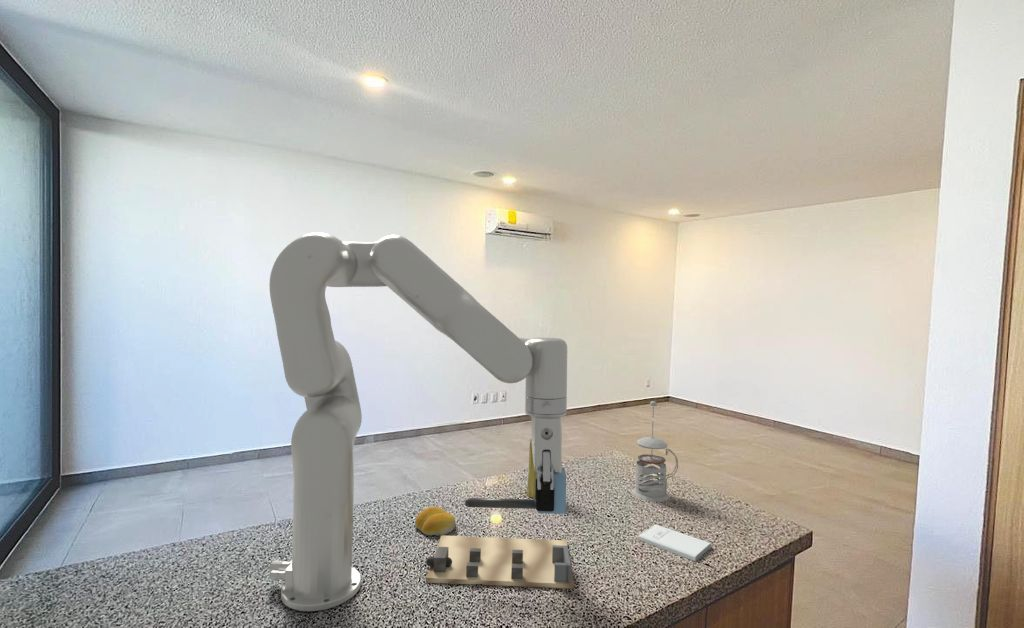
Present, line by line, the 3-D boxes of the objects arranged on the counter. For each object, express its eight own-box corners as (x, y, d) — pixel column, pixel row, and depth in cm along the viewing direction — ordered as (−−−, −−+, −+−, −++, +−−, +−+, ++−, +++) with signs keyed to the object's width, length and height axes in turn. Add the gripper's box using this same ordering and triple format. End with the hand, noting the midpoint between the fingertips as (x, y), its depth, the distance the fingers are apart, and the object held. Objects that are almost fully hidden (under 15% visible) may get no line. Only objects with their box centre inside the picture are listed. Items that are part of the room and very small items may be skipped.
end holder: (554, 581, 85) (554, 564, 85) (552, 560, 92) (552, 545, 92) (570, 582, 85) (570, 565, 85) (566, 561, 92) (567, 545, 92)
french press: (629, 486, 135) (632, 396, 135) (672, 489, 134) (675, 399, 133) (633, 500, 126) (636, 403, 125) (680, 503, 124) (683, 406, 124)
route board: (421, 582, 85) (421, 563, 85) (437, 539, 101) (437, 522, 101) (573, 588, 85) (574, 569, 85) (565, 544, 101) (566, 527, 101)
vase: (550, 499, 124) (552, 443, 124) (526, 498, 124) (528, 443, 124) (549, 490, 130) (550, 437, 130) (526, 489, 131) (527, 436, 130)
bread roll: (431, 541, 101) (431, 522, 101) (409, 526, 108) (410, 508, 108) (463, 530, 106) (464, 512, 106) (441, 516, 113) (441, 499, 113)
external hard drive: (695, 564, 95) (637, 542, 104) (711, 550, 101) (655, 530, 110) (695, 556, 95) (638, 534, 104) (711, 542, 101) (656, 523, 110)
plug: (463, 511, 87) (464, 472, 87) (466, 502, 91) (466, 465, 91) (565, 513, 87) (566, 474, 87) (563, 504, 91) (564, 467, 91)
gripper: (570, 416, 80) (569, 526, 80) (562, 397, 97) (561, 488, 97) (525, 415, 80) (523, 525, 81) (525, 396, 97) (523, 487, 97)
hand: (544, 504), depth 89 cm, fingers closed on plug, 4 cm apart
